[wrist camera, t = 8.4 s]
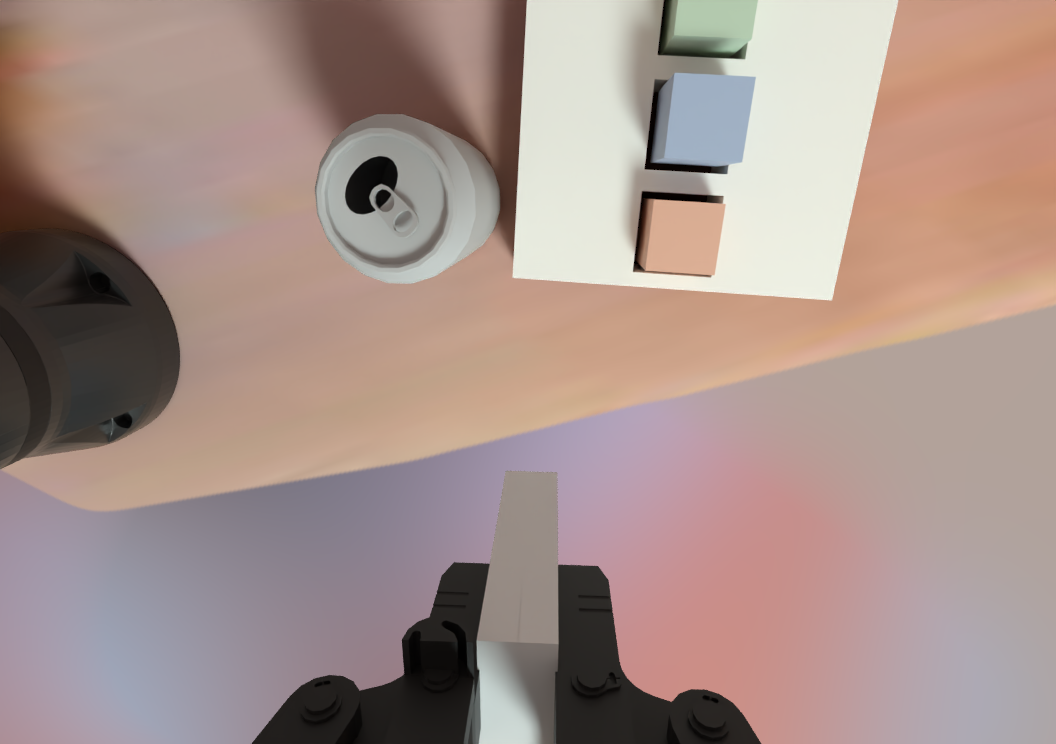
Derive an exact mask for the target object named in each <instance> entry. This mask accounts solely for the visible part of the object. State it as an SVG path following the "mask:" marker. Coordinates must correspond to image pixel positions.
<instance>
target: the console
mask: <svg viewBox="0 0 1056 744" xmlns="http://www.w3.org/2000/svg"><path fill="white" fill-rule="evenodd" d="M663 2H664V0H527V9H526V29H525V48H524V68H523V87H522V107H521V126H520V146H519V165H518V185H517V204H516V224H515V243H514V263H513V278H523V279H537V280H551V281H565V282H579V283H594V284H608V285H622V286H636V287H650V288H664V289H679V290H693V291H707V292H721V293H735V294H750V295H764V296H778V297H792V298H806V299H820V300H832V297H833V292H834V288H835V283H836V279H837V274H838V270H839V265H840V261H841V256H842V252H843V247H844V243H845V238H846V234H847V229H848V225H849V220H850V216H851V211H852V207H853V202H854V198H855V193H856V189H857V184H858V180H859V175H860V171H861V166H862V162H863V157H864V153H865V148H866V144H867V139H868V135H869V130H870V126H871V121H872V117H873V112H874V107H875V103H876V98H877V94H878V89H879V85H880V80H881V76H882V71H883V67H884V62H885V58H886V53H887V49H888V44H889V40H890V35H891V31H892V26H893V22H894V17H895V13H896V8H897V4H898V0H758V3H757V9H756V15H755V22H754V28H753V34H752V39H751V40H750V41H749V42H748V43H746V44H745V45H744V46H743V47H742V48H741V49H739V50H738V51H737V52H736V53H735V54H733V55H732V56H731V57H730V58H729V59H726V58H706V57H686V56H666V55H658V46H659V37H660V28H661V20H662V11H663ZM674 73H691V74H711V75H730V76H750V77H756V80H755V86H754V92H753V98H752V104H751V111H750V117H749V123H748V129H747V135H746V141H745V148H744V154H743V160H742V162H741V163H735V164H730V165H724V166H718V167H712V168H711V173H696V172H679V171H662V170H646V169H645V160H646V151H647V142H648V134H649V125H650V116H651V107H652V99H653V92H657V93H659V90H660V89H661V88H662V87H663V86H664V85H665V83H666V82H667V81H668V80H669V79H670V78H671V76H672V75H673V74H674ZM642 191H643V192H659V193H675V194H691V195H707V203H720V204H726V206H725V212H724V219H723V225H722V232H721V238H720V244H719V251H718V257H717V263H716V270H715V275H702V274H687V273H673V272H658V271H645V270H644V269H643V267H642V266H641V265H638V264H634V256H635V248H636V239H637V230H638V221H639V213H640V204H641V195H642Z"/></svg>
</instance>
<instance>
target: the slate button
mask: <svg viewBox="0 0 1056 744" xmlns="http://www.w3.org/2000/svg"><path fill="white" fill-rule="evenodd" d="M755 80H756V77H750V76H730V75H711V74H691V73H674V74H673V75H672V76H671V78H670V79H669V80H668V81H667V82H666V83H665V85H664V86H663V87H662V88H661V89H660V90H659V94H658V102H657V111H656V119H655V128H654V136H653V145H652V154H651V162H650V163H661V164H678V165H695V166H711V167H718V166H724V165H730V164H735V163H741V162H742V160H743V154H744V148H745V141H746V135H747V129H748V123H749V117H750V111H751V104H752V98H753V92H754V86H755Z"/></svg>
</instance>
